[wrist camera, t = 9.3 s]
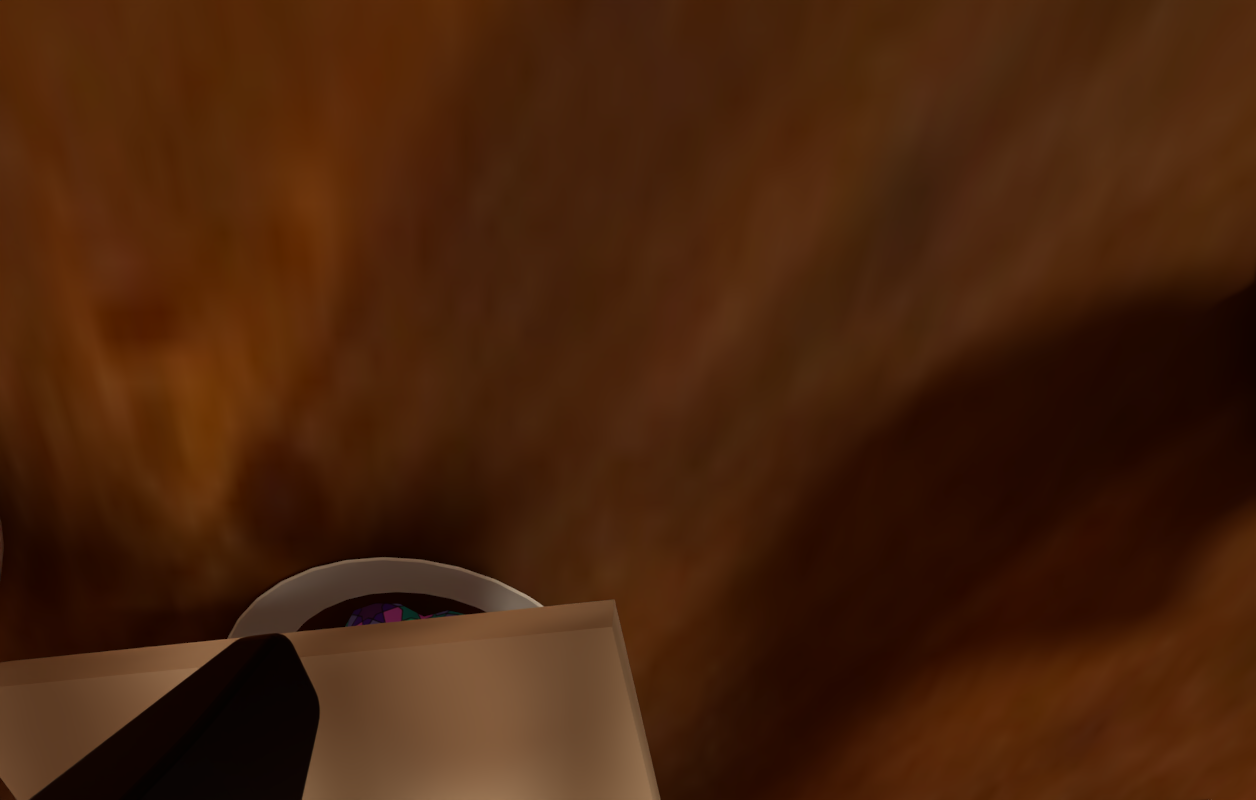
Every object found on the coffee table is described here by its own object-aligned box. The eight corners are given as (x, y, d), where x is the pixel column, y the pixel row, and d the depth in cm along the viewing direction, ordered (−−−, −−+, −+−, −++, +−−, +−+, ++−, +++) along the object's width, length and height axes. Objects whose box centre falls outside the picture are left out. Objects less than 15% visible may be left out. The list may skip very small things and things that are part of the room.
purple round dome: (561, 857, 31) (541, 1023, 26) (215, 773, 30) (130, 931, 25) (671, 606, 25) (669, 759, 20) (250, 490, 24) (147, 625, 19)
